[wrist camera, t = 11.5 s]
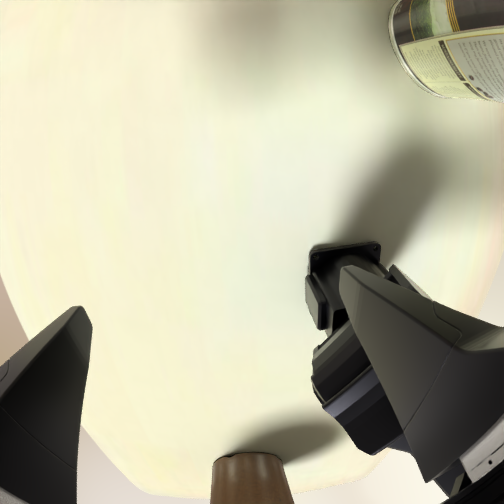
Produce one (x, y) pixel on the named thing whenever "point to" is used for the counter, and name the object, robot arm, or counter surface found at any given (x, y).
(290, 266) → the counter surface
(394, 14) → the coffee can
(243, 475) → the plant pot
